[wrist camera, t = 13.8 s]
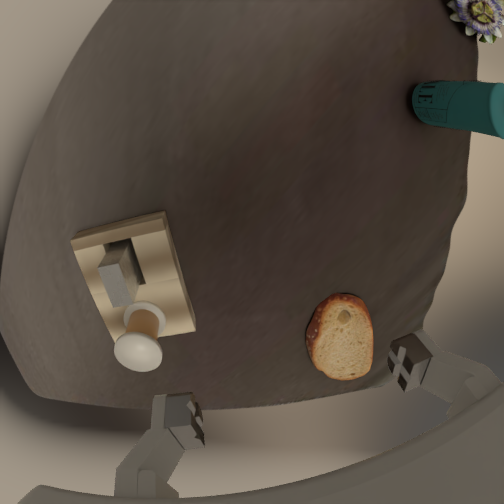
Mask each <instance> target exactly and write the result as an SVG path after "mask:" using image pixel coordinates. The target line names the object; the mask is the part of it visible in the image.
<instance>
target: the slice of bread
mask: <svg viewBox="0 0 504 504" xmlns="http://www.w3.org/2000/svg"><path fill="white" fill-rule="evenodd" d="M306 345H307V349H308V353H309V355H310V358H311V360H312V363H313V364H314V366H315V367H316V368H317V369H318V370H321V371H323V372H324V373H325V374H326V375H327V376H328V377H330V378H333V379H338V380H351V379H355V378H358V377H360V376H363V375H365V374H366V373H367V372H368V371H369V370H370V367H371V363H372V357H373V328H372V323H371V318H370V315H369V313H368V310H367V307H366V305H365V303H364V302H363V301H362V300H361V299H360V298H358V297H356V296H353V295H350V294H340V293H334V294H332V295H330V296H329V297H328V298H326V299H325V300H324V301H322V302H321V303H320V304H319V305H318V306H317V307H316V309H315V313H314V316H313V318H312V320H311V323H310V324H309V326H308V328H307V332H306Z"/></svg>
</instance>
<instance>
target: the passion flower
mask: <svg viewBox="0 0 504 504" xmlns="http://www.w3.org/2000/svg"><path fill="white" fill-rule="evenodd" d="M446 5H447V6H448V7H450V8H452V10H453V13H452V14H451V15H450V16H449V18H450V19H451V20H453V21H457V22H463V23H464V24H465V25H466V27H465V33H466V35H473V34H475V33H478V34H482V36H481V38H480V39H479V41H481V42H484V43H485V42H488V43H489V44H492V43H494V41H495V40H496V38H497V37H498V38H502V33H501V31H500V27H499V24H501V25H503V26H504V15H501V14H500V13H501V12H499V11H498V10H502V7H503V6H504V0H451V1H449V2H448V3H447V4H446Z"/></svg>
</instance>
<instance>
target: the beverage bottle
mask: <svg viewBox="0 0 504 504" xmlns="http://www.w3.org/2000/svg"><path fill="white" fill-rule="evenodd" d="M435 81H436V82H434V81H433V82H432V81H431V82H428V81H427V82H424V81H423V83H422V82H421V84H419V85H418V86H417V87H416V88H415V89H414V92H413V95H412V104H413V108H414V111H415V113H416V115H417V116H418V118H419V119H420V120H421V121H423V122H424V123H426V124H429V125H435V126H434V127H437V126H442V128H443V127H444V128H445V127H447V128H448V127H449V128H450V129H451V128H455V129H457V130H458V129H461V130H466V131H467V130H468V131H473V132H478V133H483V134H487V135H491V136H496V137H500V138H502V139H504V84H503V83H486V82H480V81H478V80H475V81H477V82H465V81H444V80H435ZM469 81H470V80H469ZM459 131H460V130H459Z"/></svg>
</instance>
